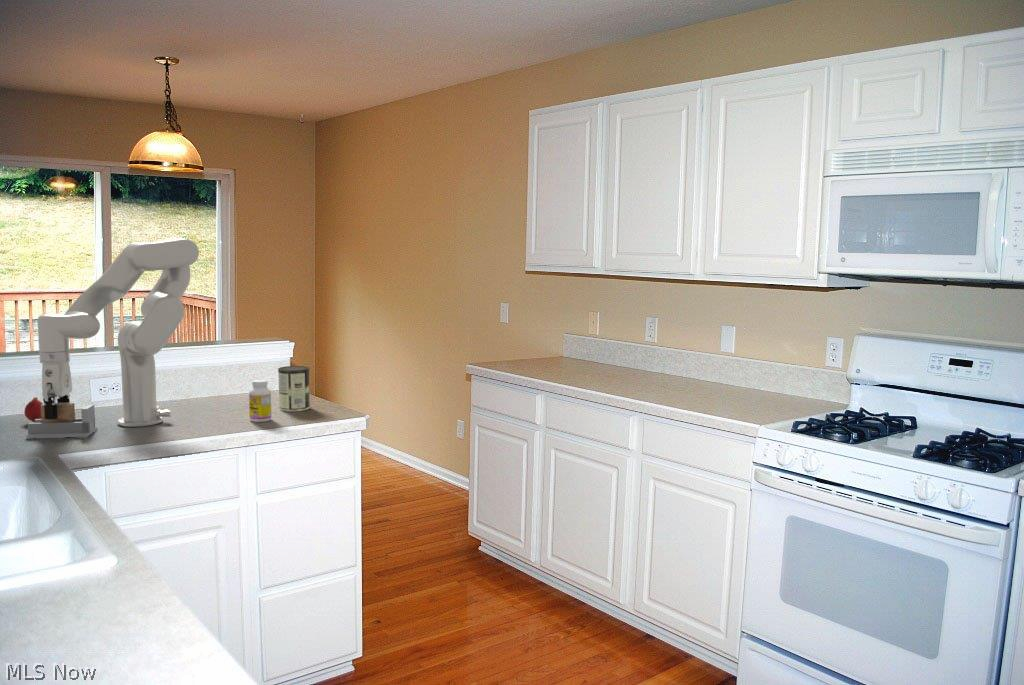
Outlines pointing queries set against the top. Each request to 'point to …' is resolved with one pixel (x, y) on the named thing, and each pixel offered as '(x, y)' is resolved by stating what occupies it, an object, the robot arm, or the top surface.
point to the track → (65, 426)
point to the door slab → (61, 413)
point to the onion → (33, 409)
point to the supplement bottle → (260, 401)
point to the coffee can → (293, 388)
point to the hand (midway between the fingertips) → (57, 415)
